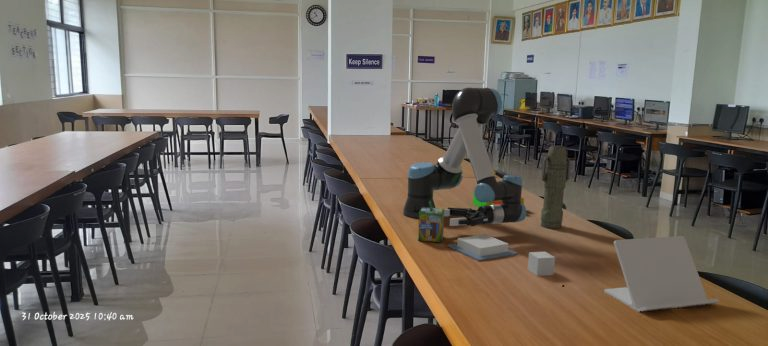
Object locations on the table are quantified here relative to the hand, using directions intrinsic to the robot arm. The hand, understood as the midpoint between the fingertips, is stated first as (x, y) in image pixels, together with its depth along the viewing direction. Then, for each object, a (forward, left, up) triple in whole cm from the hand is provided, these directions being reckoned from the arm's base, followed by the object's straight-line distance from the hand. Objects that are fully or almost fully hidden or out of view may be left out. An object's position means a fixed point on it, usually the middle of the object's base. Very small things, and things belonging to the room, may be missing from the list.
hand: (442, 217), depth 212 cm
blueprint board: (+19, +5, -8) cm, 21 cm away
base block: (+19, +5, -8) cm, 21 cm away
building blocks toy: (-30, +56, -9) cm, 65 cm away
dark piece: (+5, +55, -9) cm, 56 cm away
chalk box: (-1, -4, -9) cm, 10 cm away
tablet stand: (+77, +23, -9) cm, 81 cm away
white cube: (+45, +8, -9) cm, 46 cm away
